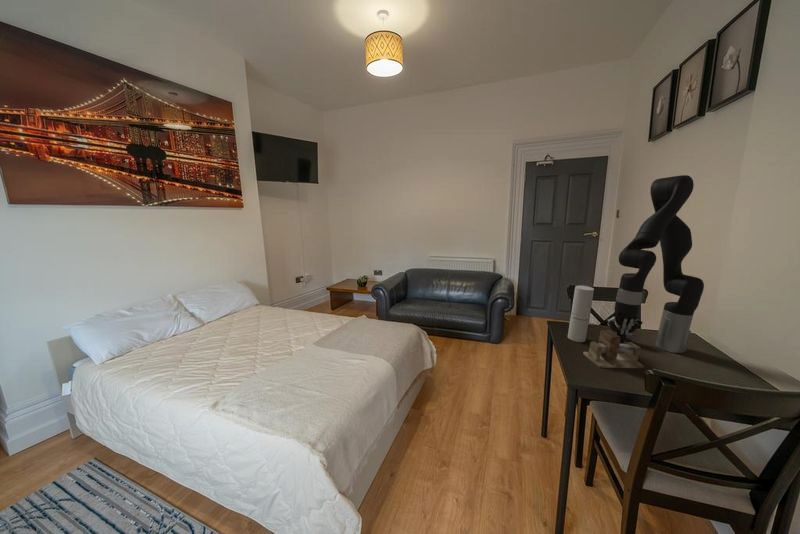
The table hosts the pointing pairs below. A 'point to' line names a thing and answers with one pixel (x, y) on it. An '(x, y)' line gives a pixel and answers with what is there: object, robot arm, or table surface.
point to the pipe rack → (625, 356)
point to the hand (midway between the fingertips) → (619, 341)
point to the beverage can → (628, 337)
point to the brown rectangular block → (610, 343)
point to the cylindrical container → (580, 313)
